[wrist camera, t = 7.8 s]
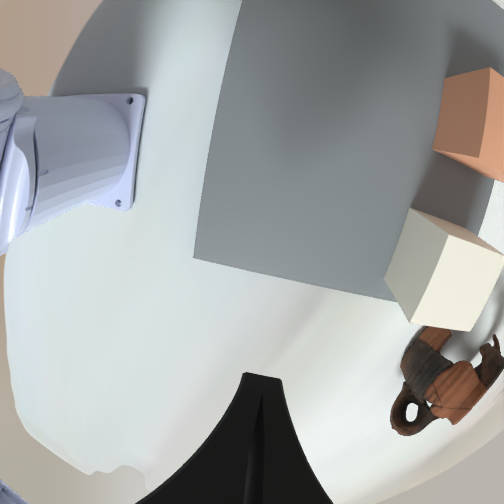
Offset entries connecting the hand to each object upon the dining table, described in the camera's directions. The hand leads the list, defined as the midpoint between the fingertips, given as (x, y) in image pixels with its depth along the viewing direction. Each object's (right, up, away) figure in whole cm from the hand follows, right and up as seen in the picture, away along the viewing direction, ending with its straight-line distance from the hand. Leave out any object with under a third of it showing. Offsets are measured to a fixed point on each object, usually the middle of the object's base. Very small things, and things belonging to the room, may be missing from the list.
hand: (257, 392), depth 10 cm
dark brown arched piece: (+17, -5, +12) cm, 21 cm away
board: (+8, +15, +4) cm, 17 cm away
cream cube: (+11, +5, +7) cm, 14 cm away
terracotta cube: (+14, +13, +3) cm, 19 cm away
